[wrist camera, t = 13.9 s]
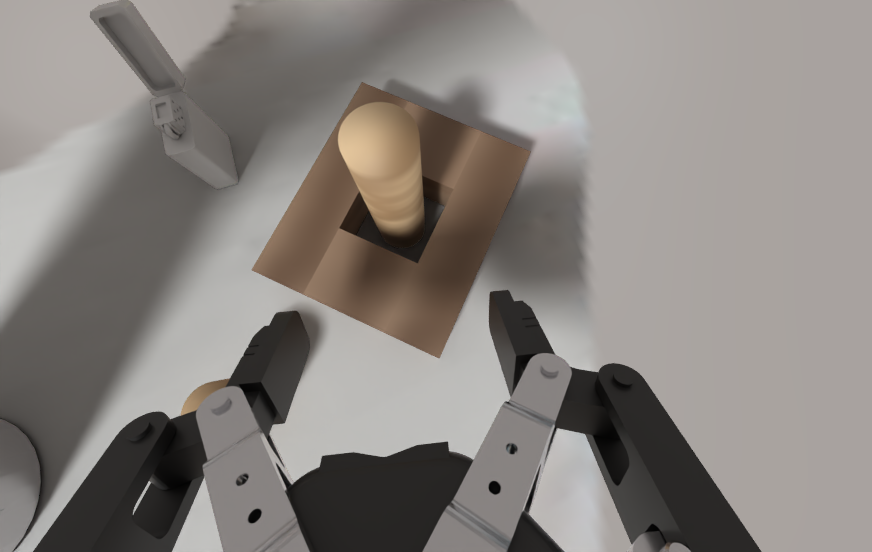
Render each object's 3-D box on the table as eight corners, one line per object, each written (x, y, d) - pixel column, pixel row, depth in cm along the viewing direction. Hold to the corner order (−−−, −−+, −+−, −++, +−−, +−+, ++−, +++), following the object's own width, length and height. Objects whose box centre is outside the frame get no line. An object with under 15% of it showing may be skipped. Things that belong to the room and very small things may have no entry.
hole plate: (276, 279, 22) (251, 270, 19) (370, 113, 24) (361, 82, 21) (438, 355, 21) (439, 358, 18) (518, 175, 23) (530, 151, 20)
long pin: (371, 236, 22) (323, 155, 12) (391, 198, 23) (361, 90, 13) (413, 255, 22) (397, 187, 12) (432, 215, 23) (432, 120, 13)
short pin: (226, 412, 20) (167, 432, 15) (252, 364, 20) (203, 370, 16) (270, 435, 20) (224, 462, 15) (296, 385, 20) (258, 398, 16)
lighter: (239, 183, 23) (138, 101, 15) (215, 190, 23) (100, 111, 15) (220, 101, 24) (118, -14, 16) (197, 107, 24) (83, -6, 16)
